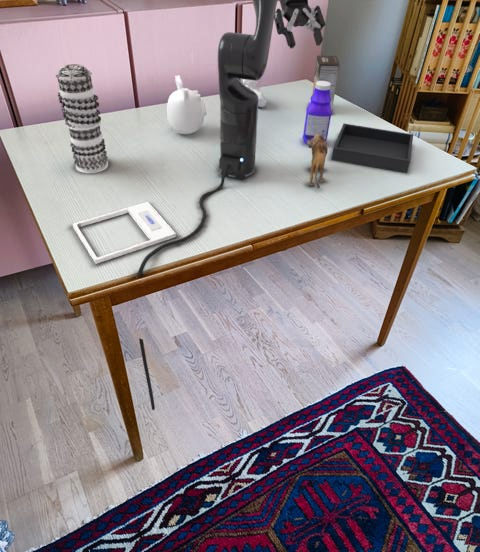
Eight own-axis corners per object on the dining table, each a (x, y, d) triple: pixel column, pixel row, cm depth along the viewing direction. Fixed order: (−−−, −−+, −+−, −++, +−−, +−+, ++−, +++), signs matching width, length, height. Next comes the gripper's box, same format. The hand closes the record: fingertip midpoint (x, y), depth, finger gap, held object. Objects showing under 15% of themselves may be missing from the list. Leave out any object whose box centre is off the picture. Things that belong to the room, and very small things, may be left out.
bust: (243, 104, 164) (226, 81, 155) (258, 88, 163) (242, 64, 154) (260, 117, 156) (243, 93, 147) (276, 100, 155) (260, 76, 146)
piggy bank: (214, 134, 140) (213, 84, 130) (180, 143, 134) (176, 91, 125) (193, 120, 147) (191, 71, 137) (160, 128, 142) (156, 77, 132)
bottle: (326, 139, 139) (335, 80, 128) (326, 147, 135) (336, 87, 124) (302, 137, 140) (309, 78, 128) (302, 146, 136) (309, 85, 124)
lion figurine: (303, 162, 128) (307, 131, 122) (322, 163, 128) (327, 132, 122) (308, 190, 117) (313, 157, 111) (329, 190, 117) (335, 158, 111)
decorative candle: (66, 170, 121) (42, 70, 105) (87, 155, 128) (67, 59, 111) (97, 177, 119) (77, 76, 102) (116, 161, 126) (100, 64, 109)
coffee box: (310, 103, 160) (316, 54, 149) (328, 104, 160) (336, 55, 150) (313, 114, 153) (319, 63, 143) (332, 115, 153) (340, 64, 143)
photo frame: (175, 232, 100) (94, 259, 92) (176, 236, 101) (95, 264, 93) (147, 201, 109) (72, 223, 101) (148, 205, 110) (73, 227, 102)
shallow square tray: (406, 173, 125) (410, 161, 123) (331, 159, 130) (333, 147, 127) (410, 145, 138) (413, 134, 135) (341, 134, 142) (343, 123, 140)
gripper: (273, -19, 123) (289, 40, 123) (318, -21, 128) (334, 35, 128) (263, 0, 130) (278, 55, 130) (306, -3, 135) (321, 50, 135)
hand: (306, 45), depth 129 cm, fingers open, 8 cm apart
